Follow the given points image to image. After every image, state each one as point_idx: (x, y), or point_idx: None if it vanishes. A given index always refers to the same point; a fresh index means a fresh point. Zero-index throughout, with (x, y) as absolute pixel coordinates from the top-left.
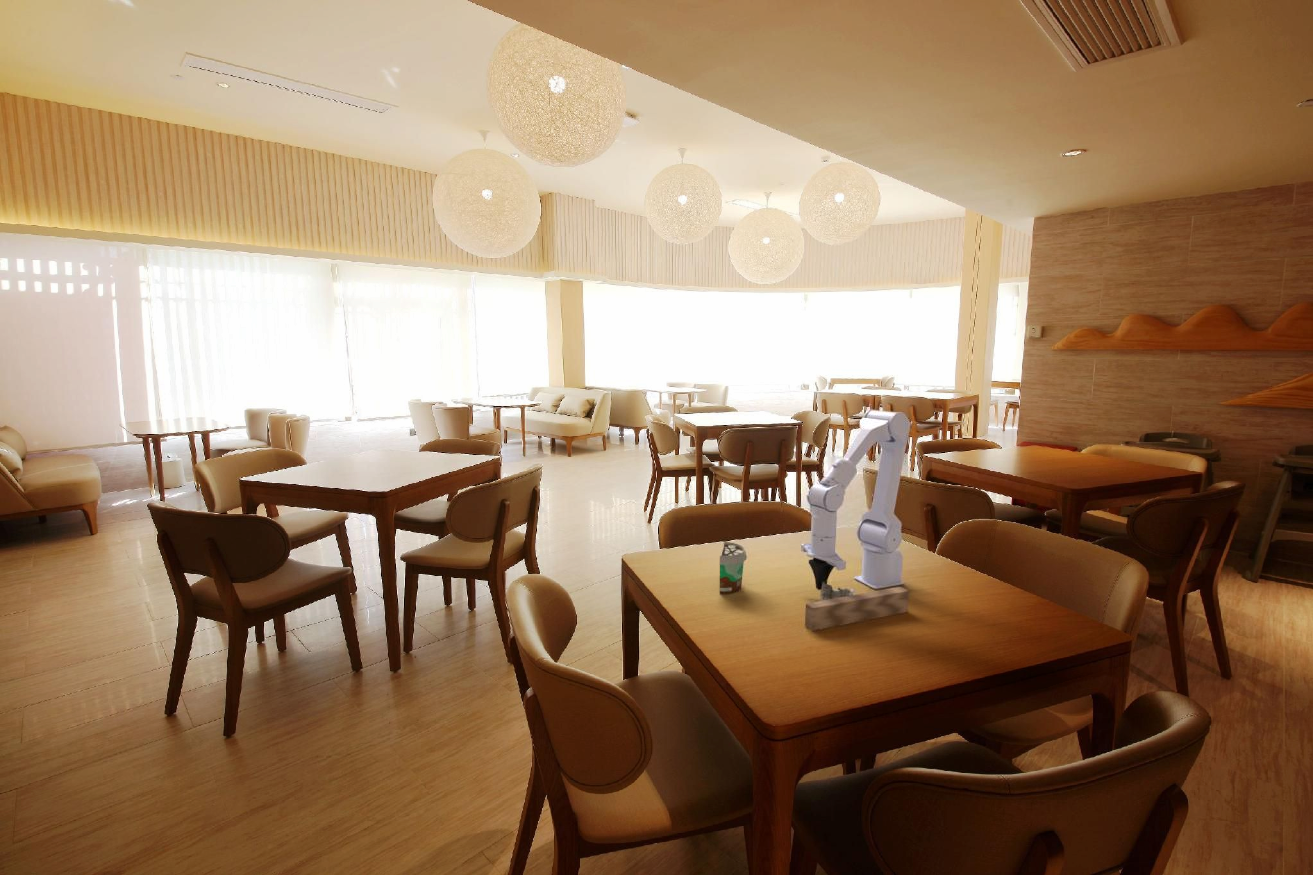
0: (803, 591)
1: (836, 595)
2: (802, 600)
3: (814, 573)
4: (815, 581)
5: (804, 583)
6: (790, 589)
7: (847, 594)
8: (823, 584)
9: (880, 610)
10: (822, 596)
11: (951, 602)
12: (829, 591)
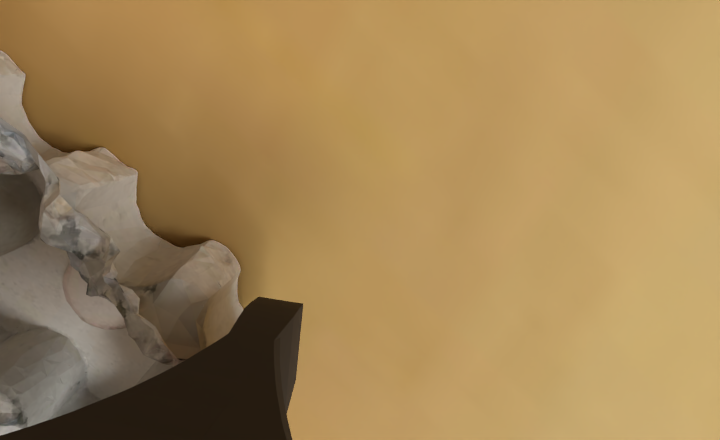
0: (465, 248)
1: (149, 368)
2: (297, 78)
3: (245, 399)
4: (276, 333)
5: (600, 387)
6: (582, 171)
7: (5, 410)
8: (165, 349)
9: None
10: (87, 197)
11: None
12: None
